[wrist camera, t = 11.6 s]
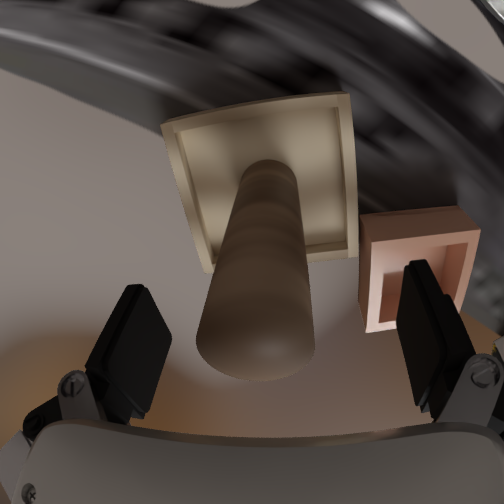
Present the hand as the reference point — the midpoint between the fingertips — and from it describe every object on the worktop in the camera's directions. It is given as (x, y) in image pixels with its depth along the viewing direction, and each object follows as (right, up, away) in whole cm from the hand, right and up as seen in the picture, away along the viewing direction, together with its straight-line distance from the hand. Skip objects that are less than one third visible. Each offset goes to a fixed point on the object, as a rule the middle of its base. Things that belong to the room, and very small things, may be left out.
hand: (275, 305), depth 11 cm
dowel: (0, +6, +11) cm, 13 cm away
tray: (0, +7, +12) cm, 13 cm away
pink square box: (+13, +2, +14) cm, 19 cm away
